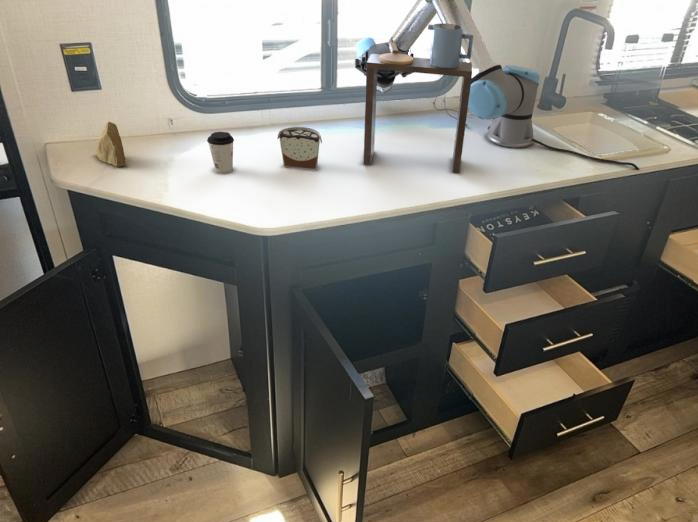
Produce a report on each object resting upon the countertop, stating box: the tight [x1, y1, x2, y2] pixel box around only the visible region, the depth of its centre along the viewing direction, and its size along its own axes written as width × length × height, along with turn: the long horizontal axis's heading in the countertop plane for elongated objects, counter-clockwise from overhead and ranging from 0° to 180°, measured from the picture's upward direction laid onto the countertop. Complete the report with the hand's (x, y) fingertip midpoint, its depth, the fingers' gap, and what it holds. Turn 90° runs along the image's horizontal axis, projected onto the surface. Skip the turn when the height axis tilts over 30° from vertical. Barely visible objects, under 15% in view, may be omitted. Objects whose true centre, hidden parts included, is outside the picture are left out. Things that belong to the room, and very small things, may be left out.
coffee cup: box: [206, 131, 235, 175], centre depth 162 cm, size 7×7×10 cm
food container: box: [276, 126, 323, 171], centre depth 169 cm, size 12×6×10 cm, turn 84°
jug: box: [427, 23, 473, 68], centre depth 160 cm, size 12×8×10 cm, turn 86°
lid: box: [380, 42, 414, 65], centre depth 166 cm, size 9×19×2 cm, turn 6°
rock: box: [95, 121, 126, 167], centre depth 163 cm, size 11×9×10 cm
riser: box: [363, 54, 472, 174], centre depth 171 cm, size 28×10×28 cm, turn 86°
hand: (389, 57), depth 180 cm, fingers open, 13 cm apart
